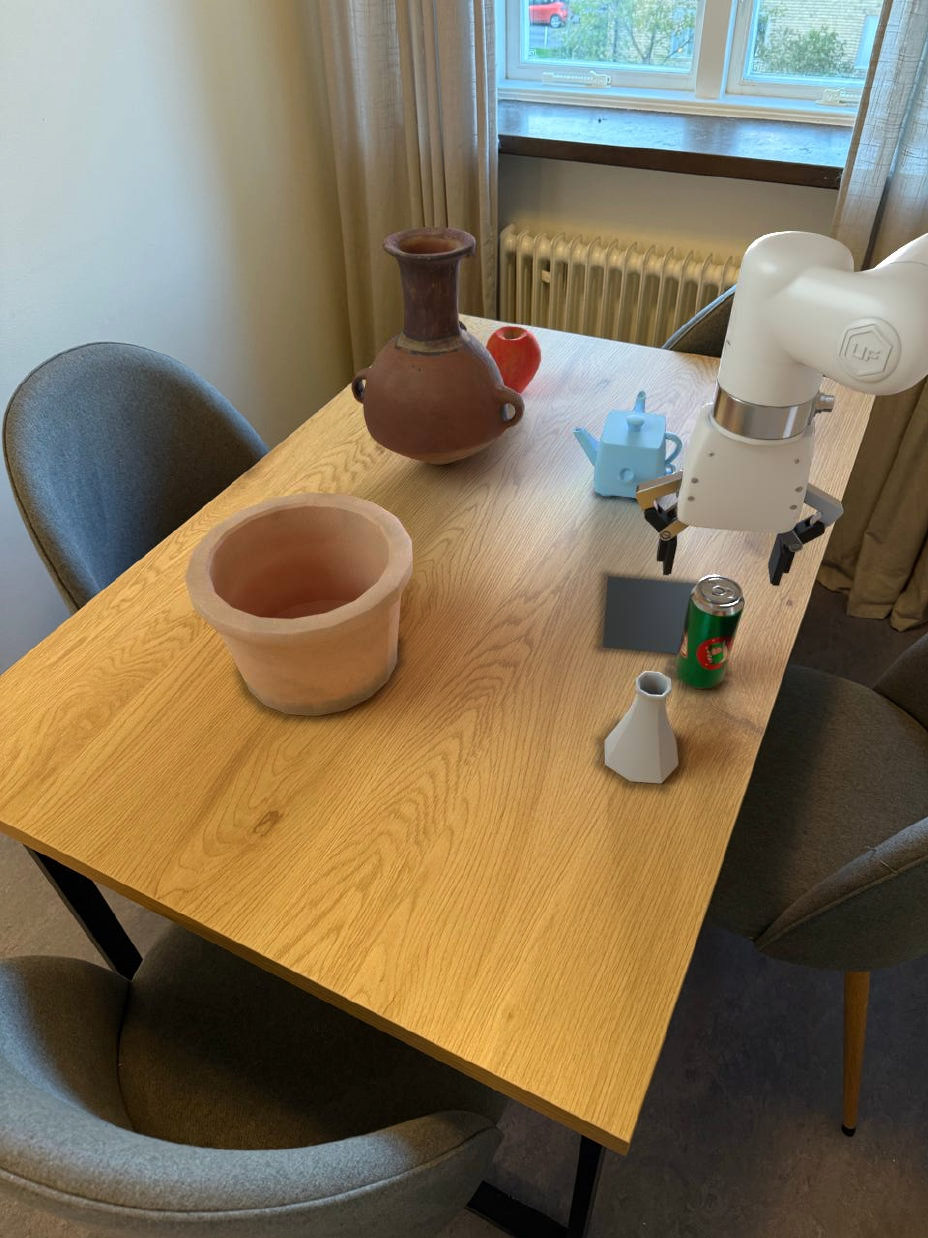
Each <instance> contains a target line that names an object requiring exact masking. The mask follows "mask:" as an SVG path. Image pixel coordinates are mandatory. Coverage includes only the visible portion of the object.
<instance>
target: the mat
mask: <svg viewBox="0 0 928 1238" xmlns="http://www.w3.org/2000/svg"><path fill="white" fill-rule="evenodd" d="M696 585H697V583H696V582H695V583H693V582H682V581H673V580H671V581H670V580H659V579H649V578H648V579H647V578H635V577H625V576H615V575H614V576H613V575H607V583H606V597H605V610H604V611H605V612H604V626H603V636H602V637H603V638H602V648H607V649H616V650H617V649H618V650H628V651H637V652H647V653H648V652H650V653H658V654H667V655H677V653H678V649H679V644H680V639H681V635H682V630H683V626H684V621H685V616H686V612H687V607H688V603H689V598H690V594H691V591H692V589H693V588H694V587H695V586H696Z"/></svg>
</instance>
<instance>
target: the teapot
mask: <svg viewBox="0 0 928 1238" xmlns="http://www.w3.org/2000/svg"><path fill="white" fill-rule="evenodd" d="M646 399H647V393H646V392H645V391H644V390H641V391H639V392H638V393H637V395H636V400H635V403H634V406H633V410H620V409H611V410H610V411H609V412H608V414H607V416H606V419H605V421H604V424H603V428H602V430H601V431H602V432H601V434H600V438H599V440H597V439H596V438H595V437H594V436H592V434H591V433H589V431H587V429H585V427H584V426H581V427H574V428H573V430H572V433H573V435H574V437H575V439H576V440H577V442H578V443H579V445H580V446H581V449H582V450H583V452H584V453H585V455H586V457H587V458H588V460H589V461H590V463H591V465H592V466H593V467H594V470H593V471H594V472H593V486H594V491H595V492H596V493H597V494H600V495H601V496H604V497H612V496H615V497H623V498H632V499H636V486H637V485H639V484H641V483H644V482H647V481H650V480H653V479H656V478H660V477H663V476H666V475H669V474H672V473H675V472H676V466H675V464H673V462H674V461H675V459H676V458H677V457H678V456H679V455H680V453H681V451H682V448H683V442H682V439H681V438H680V437H679V436H678V434H676V433H674V432H670V431H667V417H666V416H665V415H664V414H659V413H650V412H646ZM667 440H668V441H671V442H673V443H674V444H675V448H674V449H673V451H672V452H671V453H670V455H669V456H668V457H667Z"/></svg>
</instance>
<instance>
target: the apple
mask: <svg viewBox="0 0 928 1238" xmlns="http://www.w3.org/2000/svg"><path fill="white" fill-rule="evenodd" d="M485 348H486V349H487V350H488V351H489V353H490V354H491V355H492V357H493V359H494V360H495V363H496V365H497V367H498V369H499V372H500V374H501V377H502V379H503V383H504V386H506V387H508V388H511V389H513V390H514V391H516V392H517V393H519V395H521V394H522V393H523V392H524V391H525V390H526V388H527V387H528V386H529V384H530V383H531V382H532V381H533V379H534V377H535V376H536V374H537V372H538V370H539V369H540V366H541V362H542V349H541V347H540V344H539V341H538V339H537V338H536V336H535V335H534V334H533V333H532V332H531V331H529V330H528V329H526V328H523V327H521V326H512V325H507V326H501V327H499V328H498V329H496V330H495V331H494V332H492V333H491V335H490V337H489V338H488V340H487V343H486V347H485Z"/></svg>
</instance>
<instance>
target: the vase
mask: <svg viewBox="0 0 928 1238" xmlns="http://www.w3.org/2000/svg"><path fill="white" fill-rule="evenodd" d="M476 244H477V243H476V238H475V236H474V235H471V233H469V232H466V231H464V230H460V229H457V228H449V227H446V228H445V227H441V226H425V227H424V226H423V227H418V228H411V229H406V230H401V231H397V232H395V233H393V234H390V235H388V236H387V237H385V238H384V239H383V241H382V246H381V247H382V249H383V251H384V252H385V253H387V254H388V255H390V256H392V257H394V258H395V259H396V261H397V264H398V267H399V272H400V279H401V287H402V296H403V297H402V298H403V311H404V312H403V328H402V331H401V332H400V333H397V335H396V336H394V337H392V339H390V340H389V341H388V342H387V343H386V344H385V345H384V346H383V347H382V349H381V350H380V352H379V353H378V354H377V356H376V357H375V359H374V360H373V362H372V364H371V366H370V367H365V368H362V369H361V370H360V371H358V373H357V374H355V376H354V377H353V378H352V380H351V385H350V388H351V392H352V395H353V398H354V399H355V400H356V402H357V403H360V404H362V409H363V417H364V422H365V425H366V428H367V431H368V433H369V435H370V436H371V438H372V439H373V440H374V441H375V442H376V443H377V444H379V445H380V446H382V447H383V448H385V449H387V450H389V451H390V452H394V453H396V454H398V455H401V456H403V457H406V458H409V459H411V460H414V461H418V462H422V463H427V464H431V465H437V466H445V465H449V464H452V463H453V462H454V463H455V462H456V461H459V460H464V459H466V458H469V457H470V456H473V455H475V454H477V453H480V452H481V451H482V450H484V449H486V448H488V447H489V446H490V445H492V444H493V443H494V442H495V441H496V440H497V439H498V438H499V437H500V436H502V435H503V434H504V433H505V432H506V431H507V430H508V429H510V428H512V427H514V426H516V425H517V424H518V423H520V422H521V419H522V418H523V416H524V414H525V413H524V412H525V403H524V399H523V398H522V396H521V394H518V393H517V392H516V391H514V390H513V389H511V388H508V387H506V386H504V383H503V379H502V377H501V374H500V372H499V369H498V367H497V365H496V363H495V360H494V359H493V357H492V355H491V354H490V353H489V351H488V350H487V349H486V347H485V345H484V344H483V343H482V342H481V341H480V340H479V339H478V338H477V337H476V336H474V335H473V334H471V333H470V332H468V328H467V326H466V324H464V322H463V321H461V320H460V315H459V286H460V284H459V283H460V279H459V278H460V266H461V261H462V260H465V259H467V260H472V259H473V258H474V256H475V251H476ZM363 381H364V382H365V383H364V382H363ZM508 405H510V406H512V407H513V408H514V409H513V410H514V414H513V415H512V416H510V415H509V406H508Z"/></svg>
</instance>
